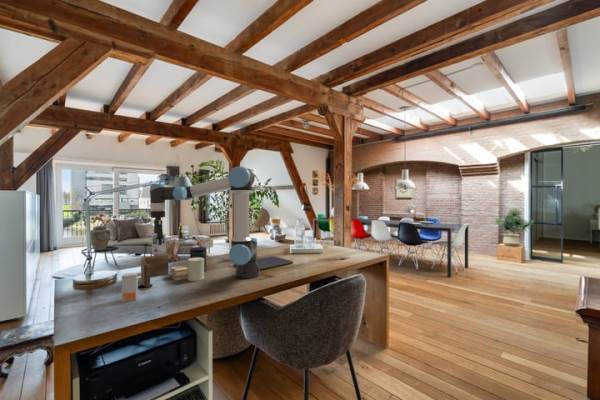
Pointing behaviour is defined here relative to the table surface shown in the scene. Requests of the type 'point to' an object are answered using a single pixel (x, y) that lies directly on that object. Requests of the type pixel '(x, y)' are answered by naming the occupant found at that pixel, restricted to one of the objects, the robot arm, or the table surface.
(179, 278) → the oak offcut
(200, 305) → the table surface
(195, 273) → the can
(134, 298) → the skincare box
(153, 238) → the light bulb box
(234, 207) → the robot arm
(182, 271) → the birch offcut
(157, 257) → the walnut rack
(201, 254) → the storage jar
